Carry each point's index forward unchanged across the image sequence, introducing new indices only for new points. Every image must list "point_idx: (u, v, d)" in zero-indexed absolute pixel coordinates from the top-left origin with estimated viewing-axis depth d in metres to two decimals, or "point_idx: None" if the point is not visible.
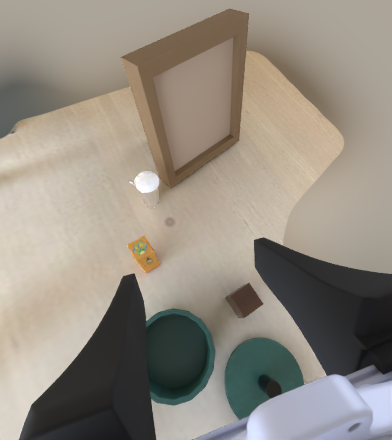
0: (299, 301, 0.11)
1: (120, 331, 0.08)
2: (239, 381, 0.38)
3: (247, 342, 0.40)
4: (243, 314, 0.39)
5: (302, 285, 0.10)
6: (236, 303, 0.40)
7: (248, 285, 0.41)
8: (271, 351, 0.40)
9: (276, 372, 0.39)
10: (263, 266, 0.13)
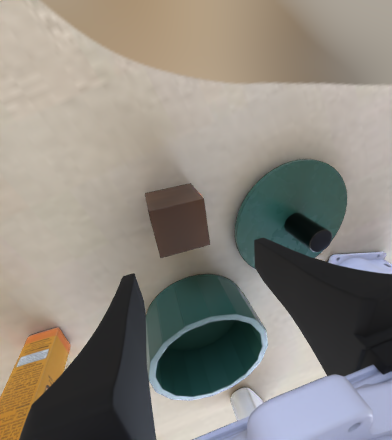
0: (299, 301, 0.11)
1: (120, 331, 0.08)
2: None
3: (238, 228, 0.23)
4: (204, 244, 0.19)
5: (302, 285, 0.10)
6: (180, 250, 0.19)
7: (154, 215, 0.17)
8: (269, 195, 0.22)
9: (294, 200, 0.23)
10: (263, 266, 0.13)
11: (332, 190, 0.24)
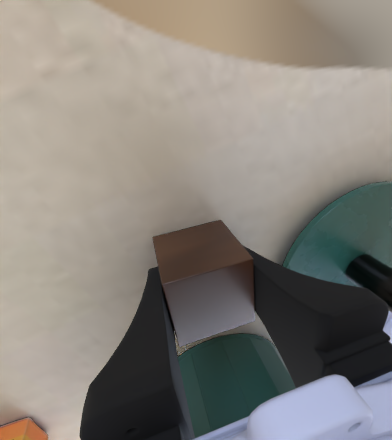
0: (270, 311, 0.10)
1: (159, 318, 0.09)
2: None
3: None
4: (246, 321, 0.12)
5: (271, 295, 0.10)
6: (209, 333, 0.12)
7: (171, 289, 0.10)
8: (331, 234, 0.15)
9: (363, 239, 0.16)
10: None
11: None
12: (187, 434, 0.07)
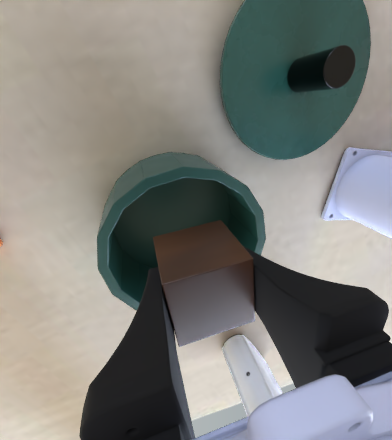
0: (270, 311, 0.10)
1: (159, 318, 0.09)
2: (272, 127, 0.20)
3: (225, 70, 0.17)
4: (246, 321, 0.12)
5: (271, 295, 0.10)
6: (209, 333, 0.12)
7: (171, 289, 0.10)
8: (266, 18, 0.16)
9: (301, 35, 0.17)
10: None
11: (352, 27, 0.18)
12: (187, 434, 0.07)
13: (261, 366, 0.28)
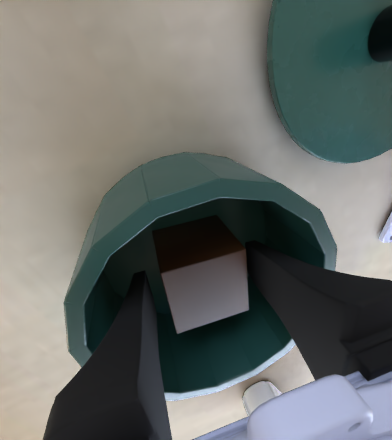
0: (288, 305, 0.10)
1: (136, 326, 0.08)
2: (336, 116, 0.13)
3: (278, 20, 0.10)
4: (241, 309, 0.13)
5: (290, 289, 0.10)
6: (205, 321, 0.12)
7: (169, 278, 0.11)
8: None
9: None
10: (254, 269, 0.13)
11: None
12: None
13: None
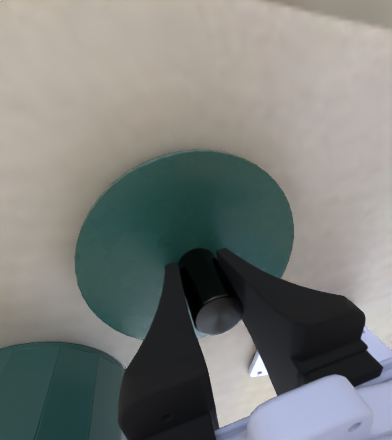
0: (252, 317, 0.10)
1: (182, 311, 0.09)
2: None
3: (79, 272, 0.12)
4: None
5: (252, 301, 0.10)
6: None
7: None
8: (135, 214, 0.12)
9: (192, 226, 0.13)
10: None
11: (266, 212, 0.14)
12: (215, 422, 0.07)
13: None
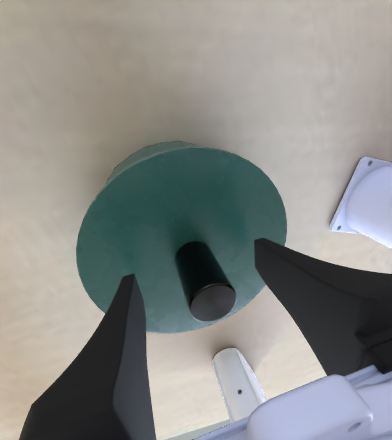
0: (299, 301, 0.11)
1: (120, 331, 0.08)
2: (161, 307, 0.15)
3: (81, 263, 0.13)
4: None
5: (302, 285, 0.10)
6: None
7: None
8: (134, 208, 0.12)
9: (188, 220, 0.13)
10: (263, 266, 0.13)
11: (259, 207, 0.14)
12: None
13: (254, 384, 0.26)
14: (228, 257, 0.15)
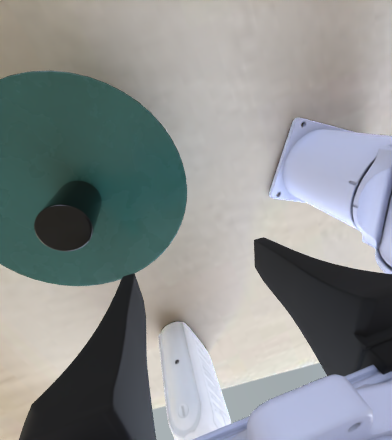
0: (299, 301, 0.11)
1: (120, 331, 0.08)
2: (55, 255, 0.15)
3: None
4: None
5: (302, 285, 0.10)
6: None
7: None
8: None
9: (65, 156, 0.13)
10: (263, 266, 0.13)
11: (147, 147, 0.14)
12: None
13: (194, 355, 0.26)
14: (122, 202, 0.15)
